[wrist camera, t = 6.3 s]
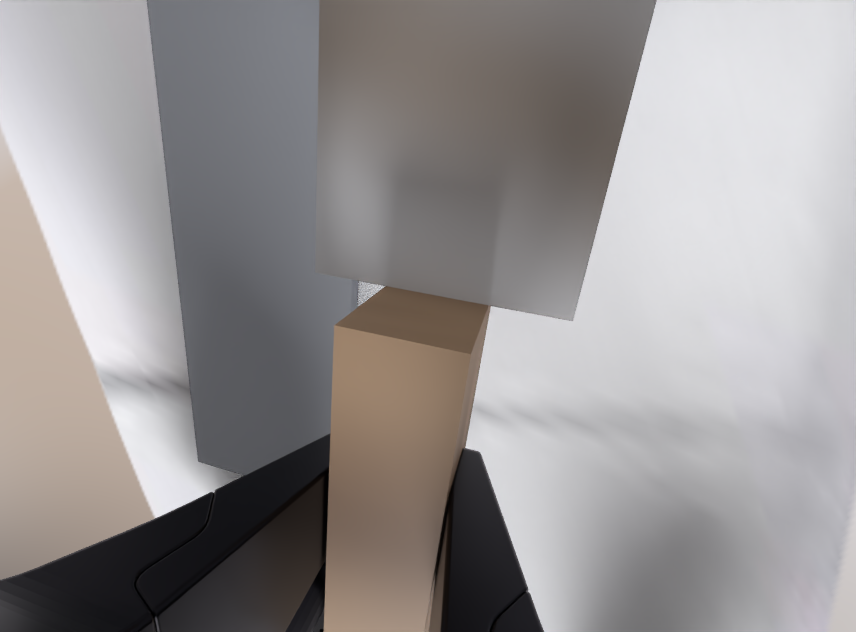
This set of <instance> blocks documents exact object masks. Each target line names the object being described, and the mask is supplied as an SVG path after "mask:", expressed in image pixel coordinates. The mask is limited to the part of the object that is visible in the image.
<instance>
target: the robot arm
mask: <svg viewBox="0 0 856 632" xmlns="http://www.w3.org/2000/svg"><path fill="white" fill-rule="evenodd" d="M329 462H330V434H328V435H325V436H323V437H321V438H319V439H317V440H315V441H313V442H311V443H309V444H307V445H305V446H303V447H301V448H299V449H297V450H295V451H293V452H291V453H289V454H287V455H285V456H283V457H281V458H279V459H277V460H275V461H273V462H271V463H269V464H267V465H265V466H263V467H261V468H259V469H257V470H255V471H253V472H251V473H249V474H247V475H245V476H243V477H241V478H239V479H237V480H235V481H233V482H231V483H229V484H227V485H225V486H223V487H221V488H218V489H216V490H215V492H214V493H213V492H210V493H208V494H206V495H204V496H202V497H200V498H198V499H196V500H194V501H192V502H190V503H188V504H186V505H183V506H181V507H179V508H177V509H175V510H173V511H171V512H169V513H166V514H164V515H162V516H160V517H158V518H155V519H153V520H151V521H148V522H146V523H144V524H141V525H139V526H137V527H135V528H132V529H130V530H127V531H125V532H123V533H120V534H118V535H115V536H113V537H111V538H108V539H106V540H103V541H101V542H98V543H96V544H93V545H91V546H89V547H86V548H84V549H81V550H79V551H76V552H74V553H71V554H69V555H67V556H64V557H62V558H59V559H57V560H55V561H52V562H50V563H47V564H45V565H42V566H40V567H38V568H35V569H32V570H30V571H27V572H24V573H22V574H19V575H15V576H12V577H9V578H6V579H2V580H0V632H324V608H325V579H326V550H327V521H328V491H329ZM429 632H544V630H543V628H542V625H541V623H540V620H539V617H538V615H537V612H536V609H535V606H534V603H533V600H532V598H531V595H530V593H529V592H528V587H527V584H526V581H525V578H524V575H523V573H522V570H521V567H520V564H519V561H518V558H517V555H516V553H515V550H514V547H513V544H512V541H511V538H510V536H509V533H508V530H507V527H506V524H505V521H504V518H503V516H502V513H501V510H500V507H499V504H498V501H497V498H496V496H495V493H494V490H493V487H492V484H491V481H490V479H489V476H488V473H487V470H486V467H485V464H484V461H483V459H482V456H481V454H480V452H478V451H475V450H471V449H467V448H463V449H462V452H461V455H460V459H459V462H458V465H457V469H456V472H455V475H454V479H453V482H452V486H451V489H450V493H449V498H448V504H447V509H446V515H445V521H444V527H443V533H442V539H441V544H440V550H439V556H438V562H437V568H436V574H435V582H434V591H433V600H432V608H431V617H430V626H429Z"/></svg>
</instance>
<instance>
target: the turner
mask: <svg viewBox="0 0 856 632" xmlns="http://www.w3.org/2000/svg"><path fill="white" fill-rule="evenodd" d="M655 4H656V0H319V59H318V124H317V189H316V253H315V273H319V274H324V275H330V276H335V277H340V278H346V279H351V280H356V281H362V282H367V283H372V284H378V285H383V286H385V287H384V288H383V289H381V290H380V291H379V292H377V293H376V294H375V295H374V296H372V297H371V298H370V299H368V300H367V301H366V302H364V303H363V304H362V305H360V306H359V307H358V308H356V309H355V310H354V311H352V312H351V313H350V314H348V315H347V316H346V317H344V318H343V319H342V320H340V321H339V322H338V323H336V324H335V325H334V346H333V375H332V404H331V433H330V462H329V491H328V521H327V550H326V579H325V608H324V632H429V626H430V617H431V608H432V600H433V591H434V582H435V574H436V568H437V562H438V556H439V550H440V544H441V539H442V533H443V527H444V521H445V515H446V509H447V504H448V498H449V493H450V489H451V486H452V482H453V479H454V475H455V472H456V469H457V465H458V462H459V459H460V455H461V452H462V449H463V448H465V446H466V440H467V435H468V429H469V424H470V418H471V412H472V407H473V401H474V396H475V390H476V385H477V379H478V374H479V368H480V363H481V357H482V351H483V346H484V340H485V335H486V329H487V324H488V318H489V313H490V307H491V306H495V307H500V308H505V309H511V310H516V311H521V312H527V313H532V314H537V315H542V316H548V317H553V318H558V319H564V320H569V321H573V318H574V315H575V311H576V307H577V303H578V299H579V295H580V292H581V288H582V284H583V280H584V276H585V272H586V269H587V265H588V261H589V257H590V253H591V249H592V246H593V242H594V238H595V234H596V230H597V226H598V223H599V219H600V215H601V211H602V207H603V203H604V200H605V196H606V192H607V188H608V184H609V180H610V177H611V173H612V169H613V165H614V161H615V157H616V154H617V150H618V146H619V142H620V138H621V134H622V131H623V127H624V123H625V119H626V115H627V111H628V108H629V104H630V100H631V96H632V92H633V88H634V85H635V81H636V77H637V73H638V69H639V65H640V62H641V58H642V54H643V50H644V46H645V42H646V39H647V35H648V31H649V27H650V23H651V19H652V16H653V12H654V8H655Z"/></svg>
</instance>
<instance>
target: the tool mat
mask: <svg viewBox="0 0 856 632" xmlns="http://www.w3.org/2000/svg"><path fill="white" fill-rule="evenodd" d="M147 6H148V15H149V24H150V33H151V42H152V51H153V59H154V68H155V77H156V86H157V95H158V104H159V113H160V122H161V131H162V140H163V149H164V158H165V167H166V176H167V185H168V194H169V203H170V212H171V221H172V230H173V239H174V248H175V257H176V266H177V275H178V284H179V293H180V302H181V311H182V320H183V329H184V338H185V347H186V356H187V365H188V374H189V383H190V392H191V401H192V410H193V419H194V428H195V437H196V446H197V455H198V462H201V463H205V464H208V465H212V466H215V467H218V468H222V469H225V470H228V471H232V472H235V473H239V474H242V475H247V474H249V473H251V472H253V471H255V470H257V469H259V468H261V467H263V466H265V465H267V464H269V463H271V462H273V461H275V460H277V459H279V458H281V457H283V456H285V455H287V454H289V453H291V452H293V451H295V450H297V449H299V448H301V447H303V446H305V445H307V444H309V443H311V442H313V441H315V440H317V439H319V438H321V437H323V436H325V435H328V434H330V433H331V404H332V375H333V346H334V325H335V324H336V323H338V322H339V321H340V320H342V319H343V318H344V317H346V316H347V315H348V314H350V313H351V312H352V311H354V310H355V309H356V308H357V298H358V281H356V280H351V279H346V278H340V277H335V276H330V275H324V274H319V273H315V253H316V189H317V124H318V59H319V0H147Z"/></svg>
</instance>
